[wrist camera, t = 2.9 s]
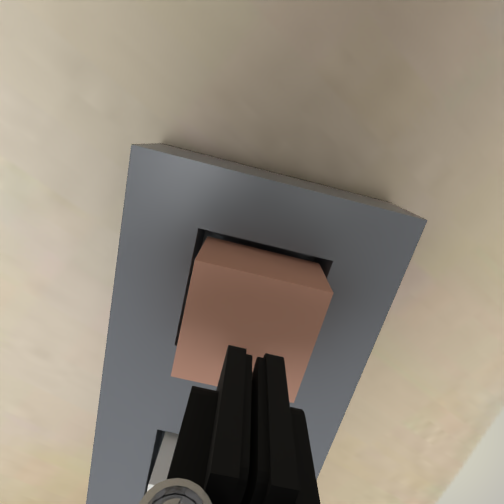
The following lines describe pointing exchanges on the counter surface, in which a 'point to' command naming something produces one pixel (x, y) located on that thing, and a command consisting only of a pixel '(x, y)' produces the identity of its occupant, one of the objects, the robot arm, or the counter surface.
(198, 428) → the robot arm
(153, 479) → the off-white key
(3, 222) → the counter surface
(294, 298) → the terracotta key
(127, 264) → the key panel
